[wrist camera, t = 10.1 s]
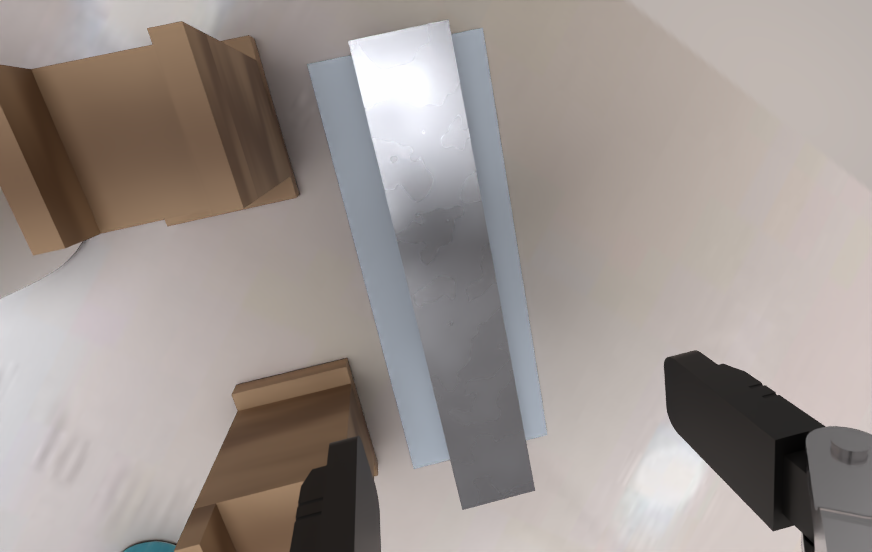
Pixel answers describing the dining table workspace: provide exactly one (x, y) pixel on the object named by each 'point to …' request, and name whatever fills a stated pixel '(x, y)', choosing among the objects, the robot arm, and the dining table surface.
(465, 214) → the rail
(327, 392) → the post
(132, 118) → the post
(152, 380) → the dining table surface
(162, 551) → the tube
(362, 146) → the mat
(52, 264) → the mug
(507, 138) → the dining table surface
